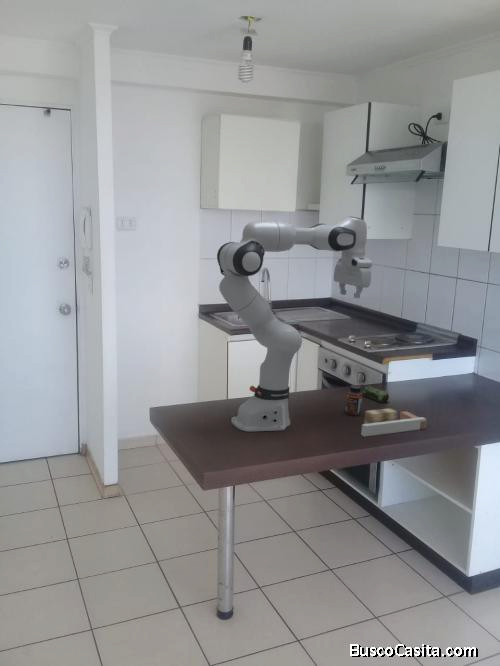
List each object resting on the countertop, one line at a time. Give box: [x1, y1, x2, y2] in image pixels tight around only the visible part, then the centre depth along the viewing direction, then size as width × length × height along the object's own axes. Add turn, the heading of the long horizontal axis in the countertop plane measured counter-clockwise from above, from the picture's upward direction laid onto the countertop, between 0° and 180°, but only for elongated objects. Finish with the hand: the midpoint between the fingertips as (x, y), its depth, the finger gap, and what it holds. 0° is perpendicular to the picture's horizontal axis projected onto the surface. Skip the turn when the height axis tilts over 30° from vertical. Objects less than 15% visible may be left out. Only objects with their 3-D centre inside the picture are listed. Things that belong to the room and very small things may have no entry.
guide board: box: [360, 411, 428, 438], centre depth 231 cm, size 28×12×4 cm, turn 115°
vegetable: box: [362, 385, 390, 403], centre depth 266 cm, size 14×5×5 cm, turn 35°
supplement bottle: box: [345, 385, 363, 416], centre depth 245 cm, size 6×6×11 cm
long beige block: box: [363, 407, 398, 424], centre depth 229 cm, size 12×4×7 cm, turn 114°
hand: (349, 296), depth 234 cm, fingers open, 8 cm apart
